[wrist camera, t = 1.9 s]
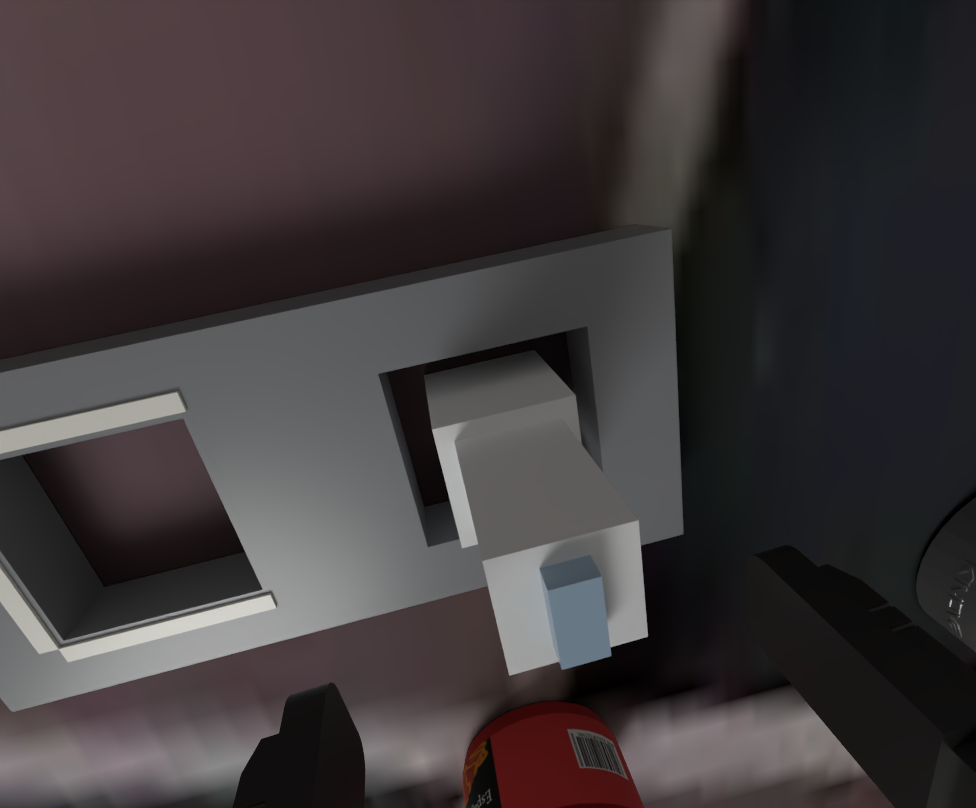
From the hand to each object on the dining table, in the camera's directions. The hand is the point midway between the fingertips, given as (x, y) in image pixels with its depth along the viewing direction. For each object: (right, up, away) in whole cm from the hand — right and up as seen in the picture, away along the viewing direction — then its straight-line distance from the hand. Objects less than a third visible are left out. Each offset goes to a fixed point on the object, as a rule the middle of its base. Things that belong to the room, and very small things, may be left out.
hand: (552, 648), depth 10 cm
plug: (-1, +4, +9) cm, 10 cm away
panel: (-7, +3, +9) cm, 11 cm away
